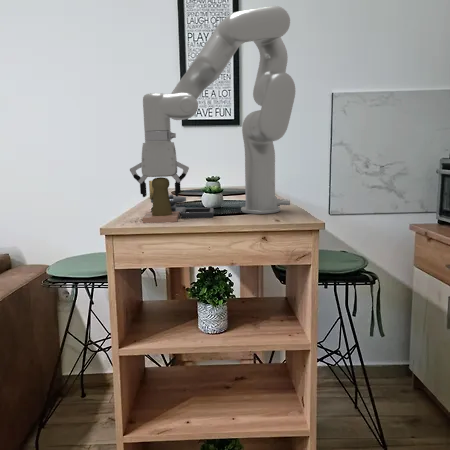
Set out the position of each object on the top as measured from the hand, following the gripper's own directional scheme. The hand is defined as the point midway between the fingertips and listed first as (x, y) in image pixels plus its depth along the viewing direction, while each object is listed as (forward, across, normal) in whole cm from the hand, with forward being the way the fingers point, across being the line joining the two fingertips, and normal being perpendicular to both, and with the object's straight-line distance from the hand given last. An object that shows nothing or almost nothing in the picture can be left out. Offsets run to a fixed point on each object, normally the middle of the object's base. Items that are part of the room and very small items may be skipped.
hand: (160, 196), depth 137 cm
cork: (+6, 0, 0) cm, 6 cm away
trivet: (+7, 0, 0) cm, 7 cm away
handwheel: (+4, 0, -15) cm, 16 cm away
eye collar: (+7, -10, -6) cm, 14 cm away
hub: (+7, 0, -16) cm, 17 cm away
